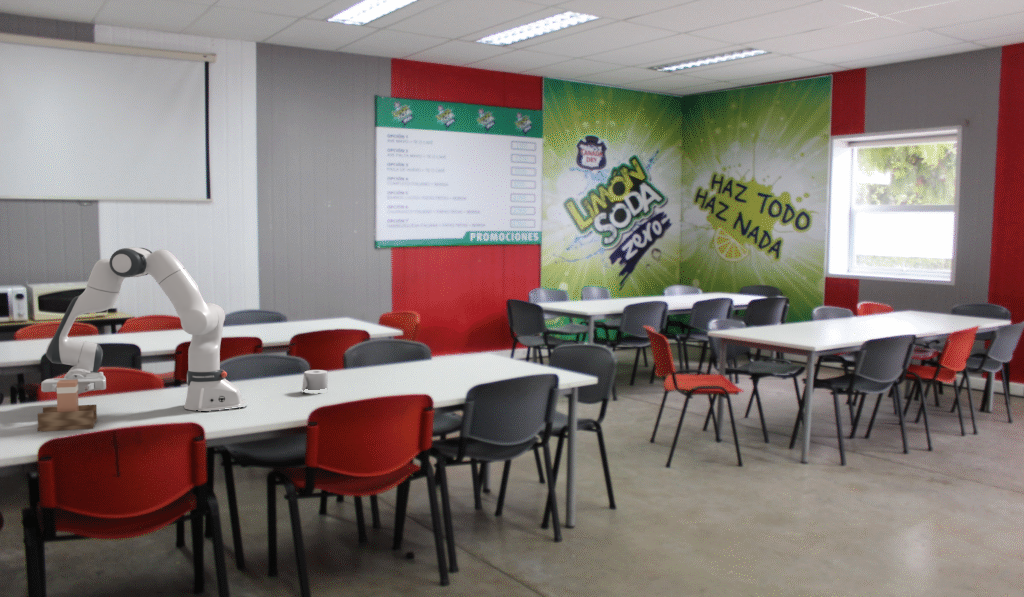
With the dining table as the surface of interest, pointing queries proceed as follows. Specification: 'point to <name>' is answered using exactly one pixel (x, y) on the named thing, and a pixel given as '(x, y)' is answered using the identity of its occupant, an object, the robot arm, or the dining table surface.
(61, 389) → the carton
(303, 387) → the toilet tissue
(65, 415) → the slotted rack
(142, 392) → the dining table surface
